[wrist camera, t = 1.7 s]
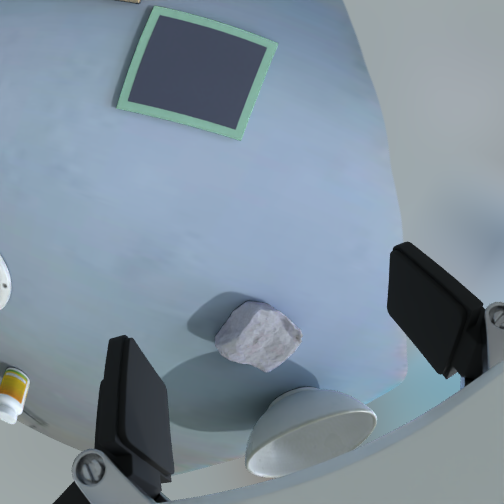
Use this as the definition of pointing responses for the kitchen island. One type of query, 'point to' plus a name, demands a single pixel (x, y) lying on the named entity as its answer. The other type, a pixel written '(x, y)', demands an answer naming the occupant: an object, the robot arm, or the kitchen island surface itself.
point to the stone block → (258, 336)
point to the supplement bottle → (13, 394)
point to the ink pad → (196, 72)
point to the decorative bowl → (306, 431)
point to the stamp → (131, 1)
